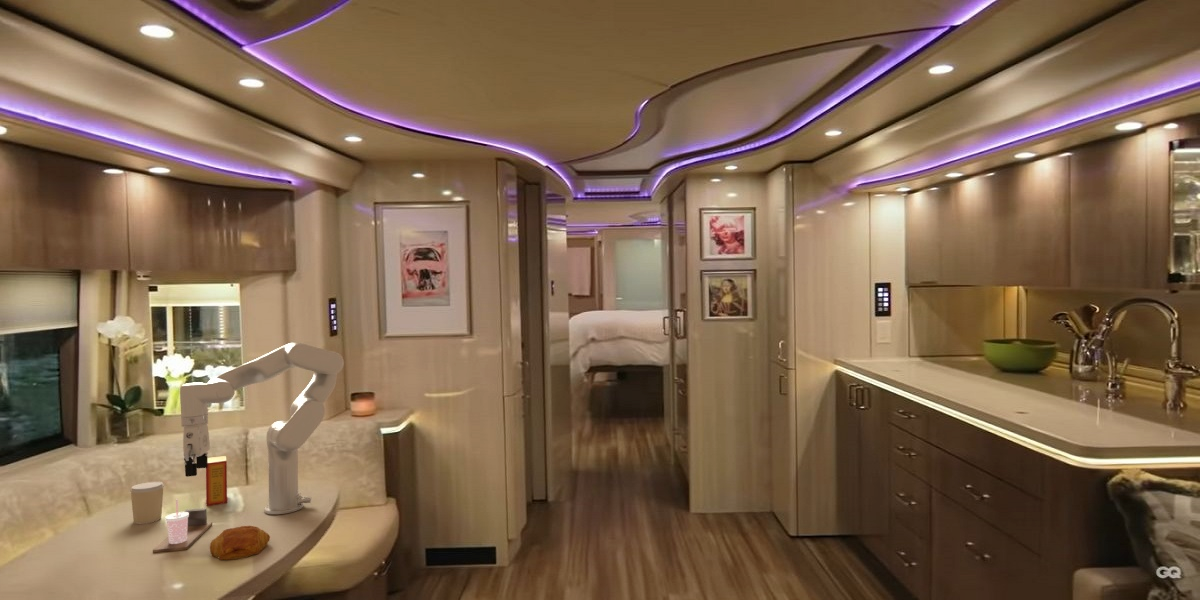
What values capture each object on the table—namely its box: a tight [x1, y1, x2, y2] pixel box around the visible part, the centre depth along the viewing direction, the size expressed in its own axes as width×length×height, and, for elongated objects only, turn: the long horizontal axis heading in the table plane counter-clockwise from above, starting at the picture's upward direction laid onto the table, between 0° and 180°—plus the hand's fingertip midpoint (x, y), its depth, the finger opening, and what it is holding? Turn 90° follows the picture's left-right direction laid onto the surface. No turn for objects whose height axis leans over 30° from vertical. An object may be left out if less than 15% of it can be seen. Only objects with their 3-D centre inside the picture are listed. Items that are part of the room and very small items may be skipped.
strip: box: [152, 507, 213, 553], centre depth 204 cm, size 9×22×6 cm, turn 13°
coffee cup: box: [130, 481, 165, 525], centre depth 221 cm, size 9×9×12 cm
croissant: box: [209, 525, 271, 561], centre depth 193 cm, size 14×16×8 cm
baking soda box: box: [205, 455, 228, 507], centre depth 241 cm, size 10×6×16 cm
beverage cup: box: [164, 498, 189, 544], centre depth 199 cm, size 6×6×14 cm
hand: (196, 471), depth 214 cm, fingers open, 9 cm apart
